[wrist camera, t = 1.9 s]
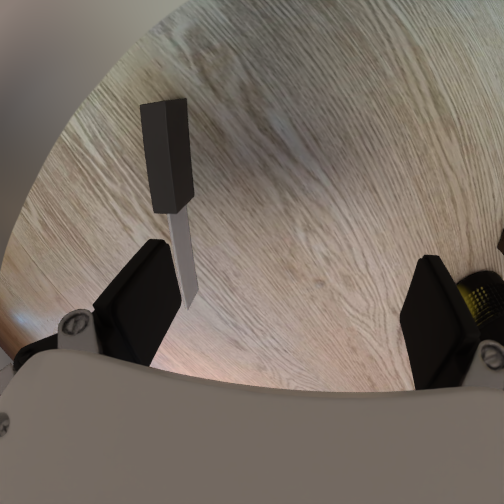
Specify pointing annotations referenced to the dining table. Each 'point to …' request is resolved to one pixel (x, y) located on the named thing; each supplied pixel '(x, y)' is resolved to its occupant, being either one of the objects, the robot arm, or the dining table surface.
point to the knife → (171, 180)
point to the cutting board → (501, 243)
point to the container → (485, 303)
